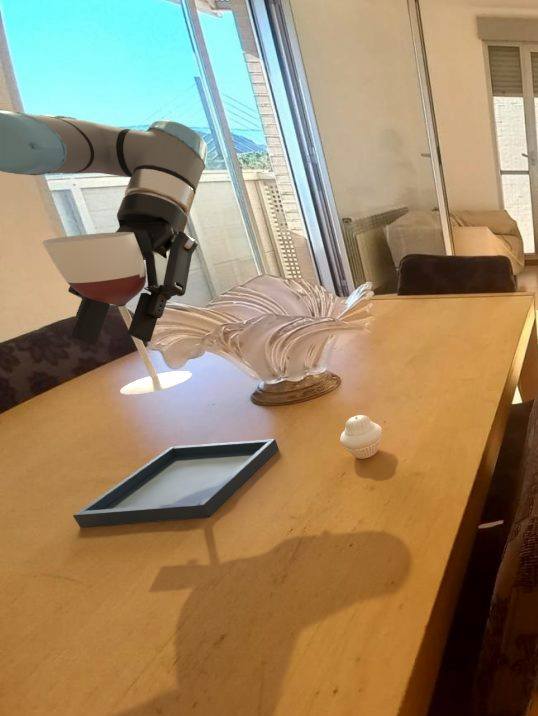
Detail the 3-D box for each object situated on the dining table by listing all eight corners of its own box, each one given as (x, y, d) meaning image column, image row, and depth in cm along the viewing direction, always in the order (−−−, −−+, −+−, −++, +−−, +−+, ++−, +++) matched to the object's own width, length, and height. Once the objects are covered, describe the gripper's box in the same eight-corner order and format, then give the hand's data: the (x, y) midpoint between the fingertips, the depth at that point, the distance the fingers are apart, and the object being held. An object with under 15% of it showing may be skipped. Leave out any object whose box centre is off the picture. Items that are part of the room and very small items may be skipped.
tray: (79, 527, 64) (72, 515, 63) (175, 457, 79) (170, 446, 78) (209, 517, 65) (203, 505, 64) (279, 449, 80) (275, 438, 79)
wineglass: (190, 365, 79) (132, 230, 70) (196, 381, 73) (134, 235, 64) (117, 382, 73) (45, 238, 65) (117, 402, 67) (37, 244, 58)
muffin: (336, 460, 76) (324, 422, 74) (367, 440, 82) (357, 404, 79) (366, 467, 74) (354, 429, 72) (395, 446, 80) (385, 410, 77)
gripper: (238, 220, 79) (205, 345, 71) (113, 225, 78) (64, 354, 69) (203, 188, 72) (162, 323, 64) (65, 193, 71) (4, 332, 62)
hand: (111, 339), depth 66 cm, fingers closed on wineglass, 7 cm apart
